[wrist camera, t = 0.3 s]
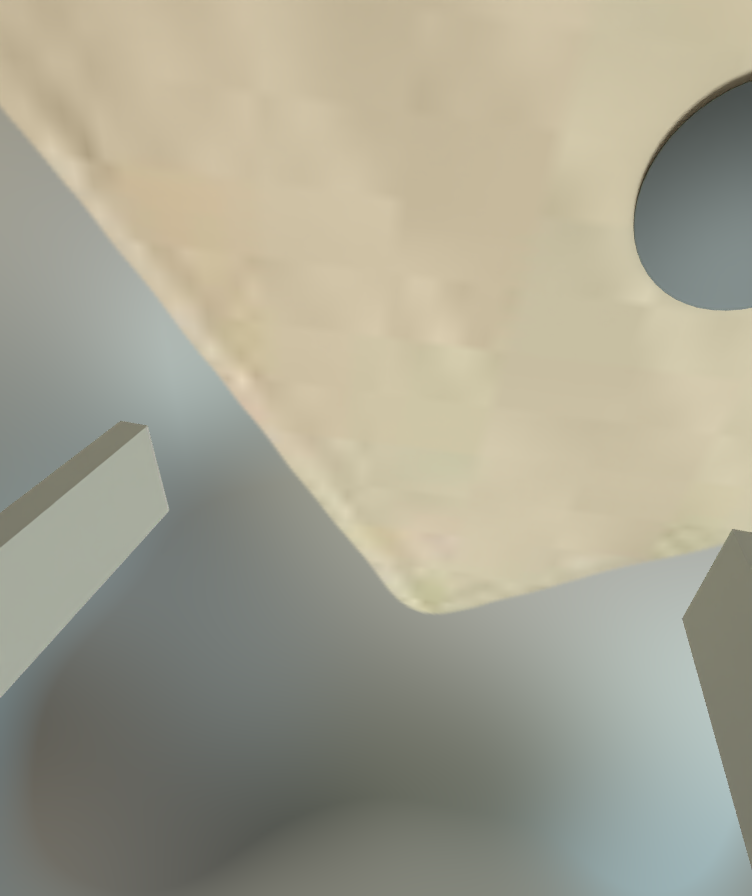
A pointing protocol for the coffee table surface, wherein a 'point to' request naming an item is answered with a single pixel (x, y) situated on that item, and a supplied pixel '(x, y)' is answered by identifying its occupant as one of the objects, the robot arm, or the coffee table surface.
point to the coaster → (702, 207)
